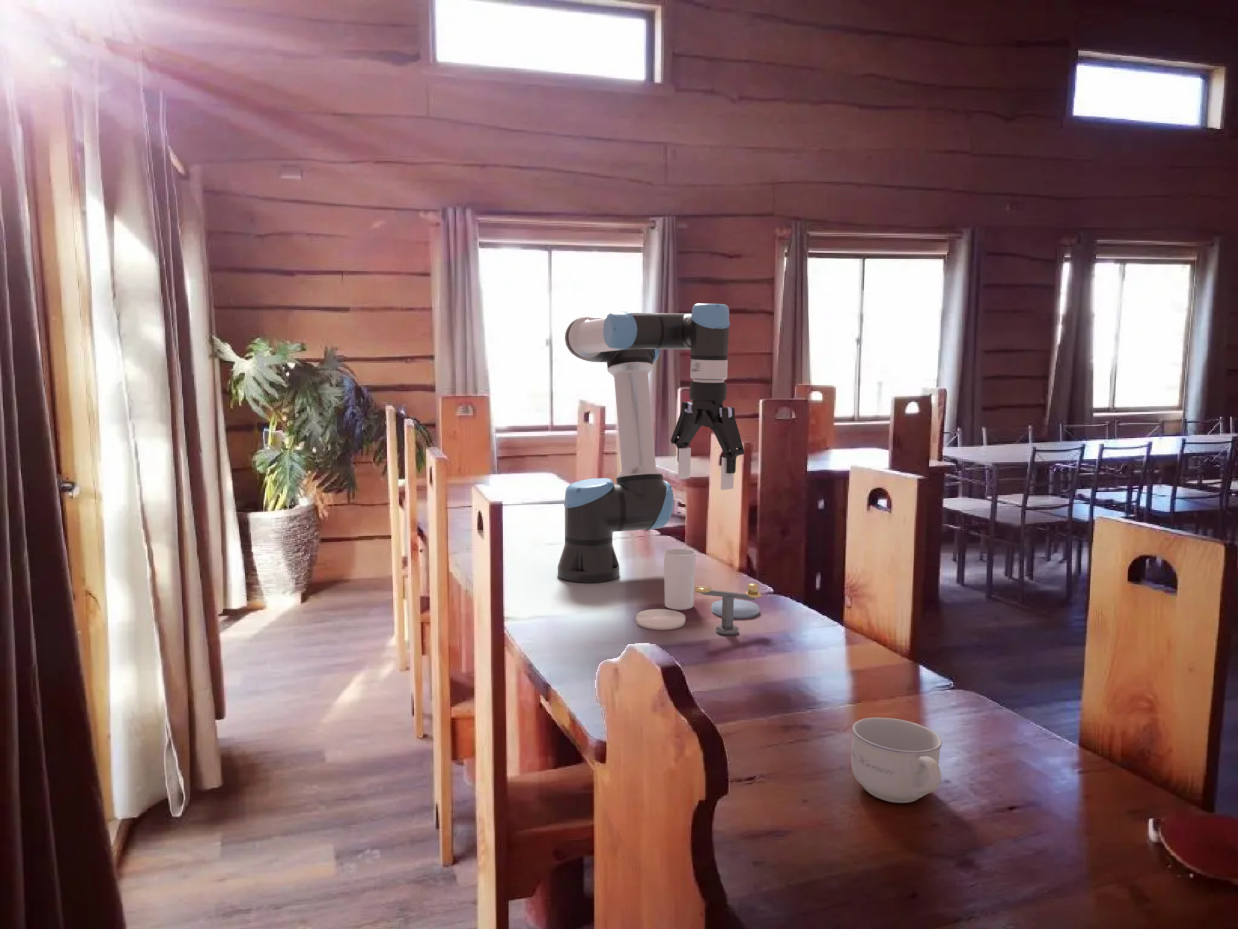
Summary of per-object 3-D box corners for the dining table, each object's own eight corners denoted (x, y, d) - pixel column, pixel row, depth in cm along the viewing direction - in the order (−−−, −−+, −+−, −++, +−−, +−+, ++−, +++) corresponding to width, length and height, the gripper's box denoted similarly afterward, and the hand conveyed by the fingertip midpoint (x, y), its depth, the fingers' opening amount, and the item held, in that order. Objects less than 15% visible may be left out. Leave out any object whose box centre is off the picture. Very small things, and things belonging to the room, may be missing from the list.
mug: (698, 609, 190) (699, 554, 188) (667, 611, 189) (668, 556, 187) (686, 596, 200) (687, 544, 198) (657, 598, 199) (657, 545, 197)
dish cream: (627, 618, 184) (627, 612, 184) (670, 612, 188) (670, 606, 188) (650, 632, 175) (650, 626, 175) (694, 625, 179) (694, 620, 179)
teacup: (838, 772, 118) (840, 715, 117) (917, 769, 119) (920, 712, 118) (876, 829, 104) (880, 764, 103) (965, 825, 105) (970, 761, 104)
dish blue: (702, 607, 191) (702, 602, 191) (741, 602, 196) (742, 597, 196) (727, 620, 182) (728, 615, 182) (768, 614, 187) (768, 609, 187)
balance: (689, 633, 174) (690, 586, 173) (752, 624, 181) (753, 578, 179) (700, 640, 170) (701, 592, 169) (764, 630, 177) (766, 583, 175)
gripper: (656, 377, 188) (653, 475, 192) (736, 385, 168) (732, 495, 172) (683, 376, 193) (680, 473, 196) (765, 384, 173) (760, 491, 176)
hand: (704, 483), depth 184 cm, fingers open, 13 cm apart
